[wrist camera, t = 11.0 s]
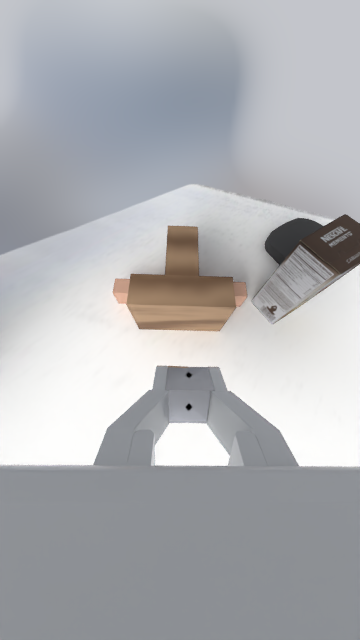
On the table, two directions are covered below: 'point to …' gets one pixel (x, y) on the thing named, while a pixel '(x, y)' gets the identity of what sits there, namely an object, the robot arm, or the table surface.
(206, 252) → the table surface
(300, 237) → the media streaming box
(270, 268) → the table surface
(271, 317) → the coffee box
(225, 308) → the t block
